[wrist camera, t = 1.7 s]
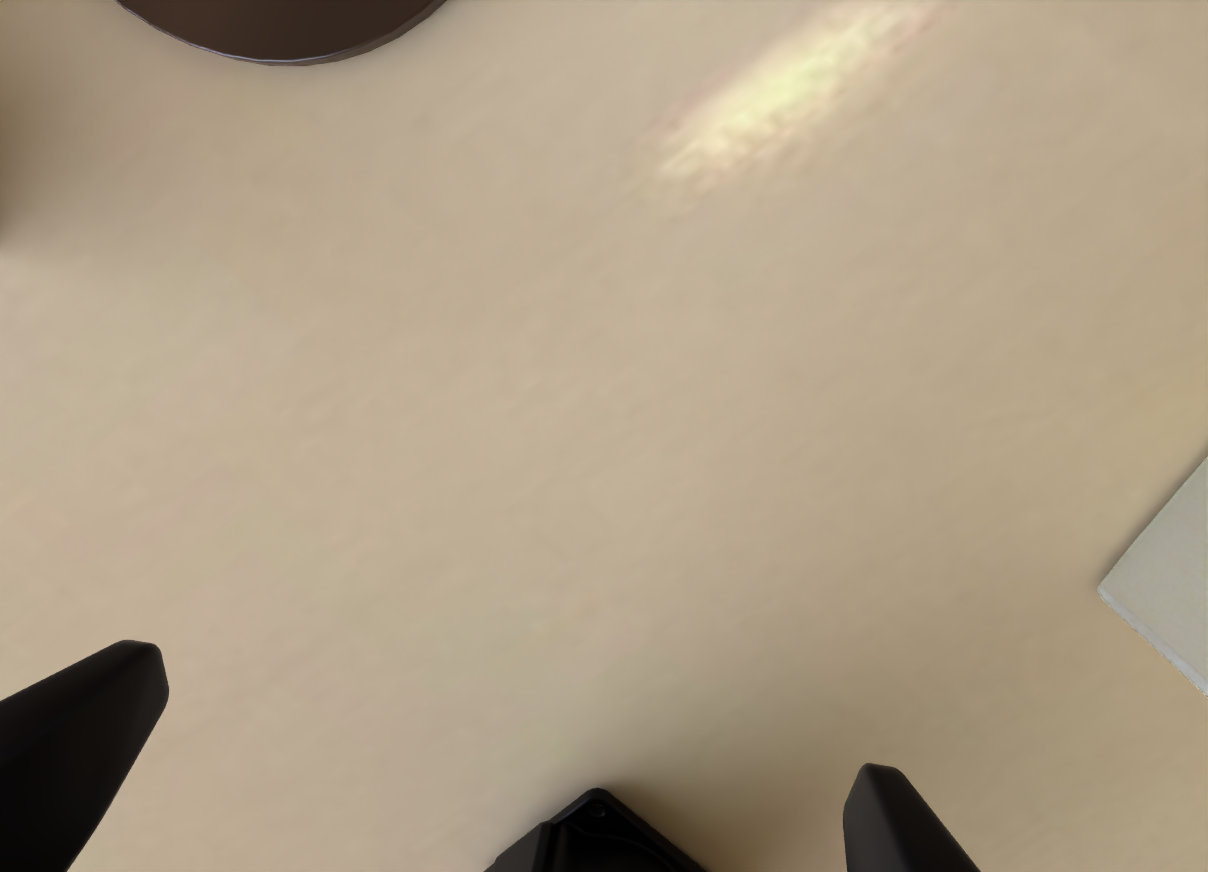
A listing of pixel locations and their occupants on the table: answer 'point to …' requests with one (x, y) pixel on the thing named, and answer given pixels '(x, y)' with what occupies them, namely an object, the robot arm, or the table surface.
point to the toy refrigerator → (1169, 581)
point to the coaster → (284, 26)
